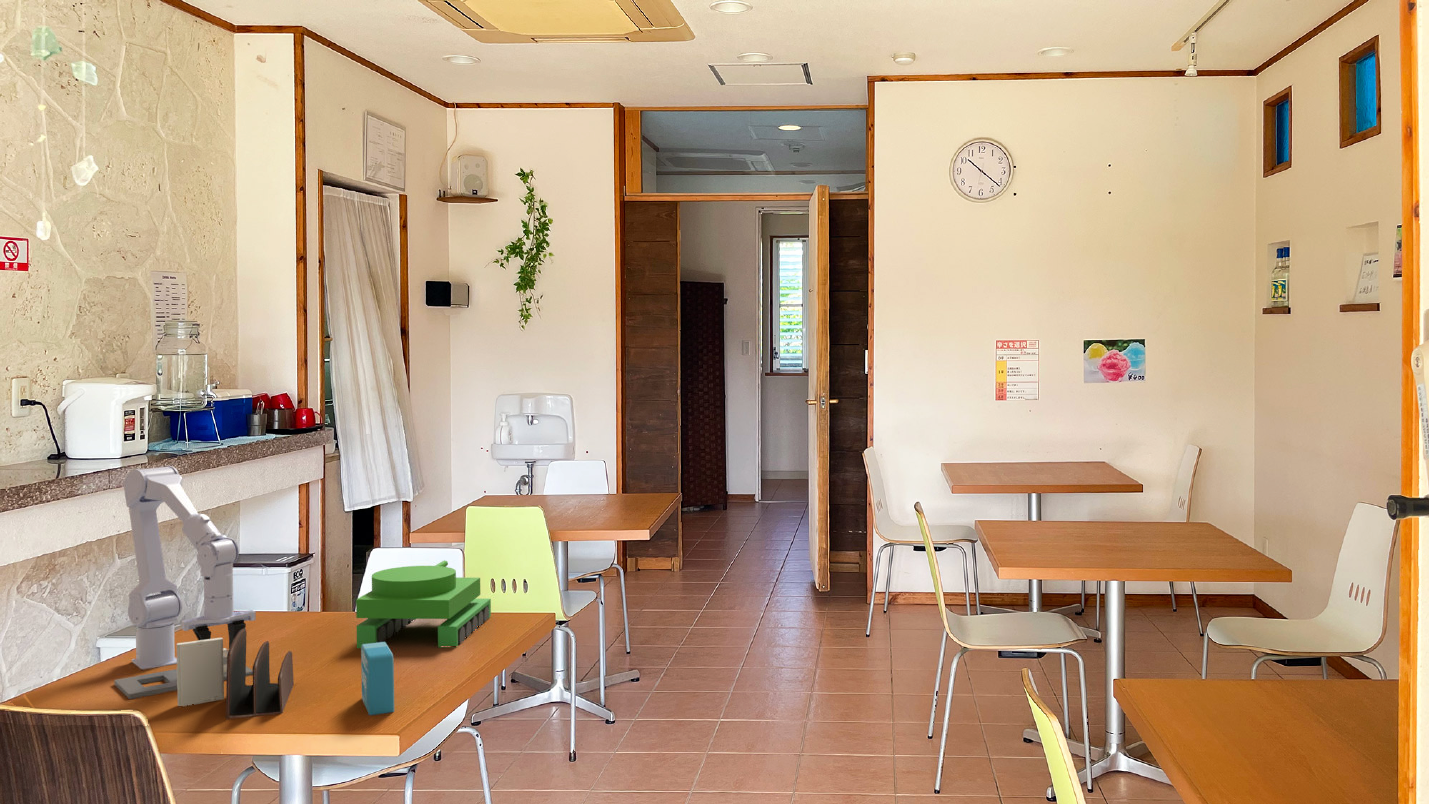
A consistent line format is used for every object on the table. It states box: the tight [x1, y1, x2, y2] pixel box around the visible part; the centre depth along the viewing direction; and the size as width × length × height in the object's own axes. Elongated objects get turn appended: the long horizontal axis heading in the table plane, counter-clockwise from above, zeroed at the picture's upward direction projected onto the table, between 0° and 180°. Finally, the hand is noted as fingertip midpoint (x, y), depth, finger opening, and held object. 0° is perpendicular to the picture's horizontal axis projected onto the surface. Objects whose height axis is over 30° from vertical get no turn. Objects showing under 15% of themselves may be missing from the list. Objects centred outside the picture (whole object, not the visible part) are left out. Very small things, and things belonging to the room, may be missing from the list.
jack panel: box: [113, 665, 253, 700], centre depth 225 cm, size 13×24×1 cm, turn 131°
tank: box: [355, 559, 492, 649], centre depth 264 cm, size 24×35×16 cm
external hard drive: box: [176, 637, 225, 707], centre depth 209 cm, size 2×8×12 cm, turn 123°
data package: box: [360, 641, 395, 716], centre depth 204 cm, size 12×4×12 cm, turn 25°
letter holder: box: [225, 628, 295, 720], centre depth 209 cm, size 10×20×14 cm, turn 16°
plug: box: [223, 647, 229, 673], centre depth 230 cm, size 7×4×5 cm, turn 41°
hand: (220, 658), depth 229 cm, fingers open, 4 cm apart
